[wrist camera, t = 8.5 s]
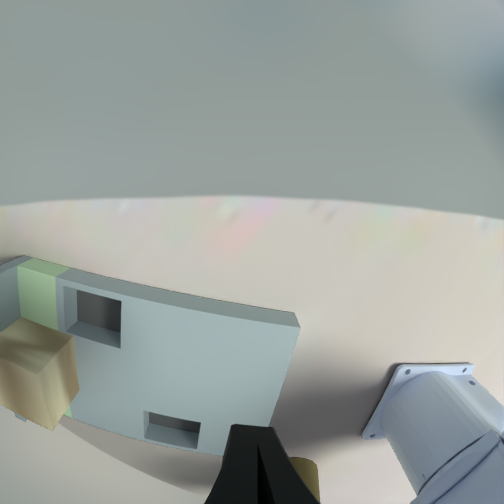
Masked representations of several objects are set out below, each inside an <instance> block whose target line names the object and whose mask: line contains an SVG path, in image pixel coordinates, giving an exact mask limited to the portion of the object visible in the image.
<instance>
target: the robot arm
mask: <svg viewBox="0 0 504 504" xmlns="http://www.w3.org/2000/svg"><path fill="white" fill-rule="evenodd" d="M474 368H475V366H474V364H472V363H465V364H402V365H400V366H398V367H397V368H396V370H395V372H394V374H393V377H392V379H391V381H390V383H389V385H388V387H387V389H386V391H385V393H384V395H383V397H382V399H381V401H380V402H379V404H378V406H377V408H376V410H375V412H374V414H373V415H372V417H371V419H370V421H369V423H368V424H367V426H366V428H365V429H364V431H363V433H362V435H361V436H362V438H363V439H364V440H368V439H380V438H387V439H388V441H389V443H390V445H391V447H392V449H393V450H394V452H395V454H396V456H397V458H398V460H399V462H400V464H401V466H402V468H403V470H404V471H405V473H406V475H407V477H408V479H409V481H410V483H411V485H412V487H413V489H414V491H415V493H416V495H417V497H416V498H415V499H414V500H413V501H411V502H410V504H504V407H503V406H502V405H501V404H500V403H499V402H498V401H497V400H496V399H495V398H494V397H493V396H492V395H491V394H490V393H489V392H488V391H487V390H486V389H485V388H484V387H483V386H482V385H481V384H480V383H479V382H478V381H477V380H476V379H475V378H474V377H473V376H472V375H471V374H472V372H473V370H474ZM406 370H407V371H406ZM405 371H406V372H405ZM204 504H320V503H319V501H318V500H317V499H316V498H315V496H314V495H313V494H312V492H311V491H310V490H309V488H308V487H307V486H306V484H305V483H304V481H303V480H302V478H301V477H300V475H299V474H298V472H297V470H296V469H295V467H294V466H293V464H292V462H291V461H290V459H289V457H288V455H287V453H286V452H285V450H284V448H283V446H282V444H281V442H280V440H279V438H278V436H277V434H276V431H275V430H274V428H273V427H263V426H253V425H243V424H233V425H231V427H230V431H229V435H228V439H227V443H226V447H225V451H224V455H223V462H222V468H221V470H220V473H219V475H218V477H217V480H216V482H215V484H214V486H213V488H212V490H211V492H210V494H209V496H208V498H207V500H206V501H205V503H204Z"/></svg>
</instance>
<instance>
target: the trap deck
mask: <svg viewBox="0 0 504 504" xmlns="http://www.w3.org/2000/svg"><path fill="white" fill-rule="evenodd" d="M20 317H23V318H25V319H28V320H30V321H33V322H36V323H38V324H41V325H43V326H46V327H49V328H52V329H55V330H57V331H60V332H63V333H66V334H69V335H72V336H73V337H74V349H75V359H76V367H77V375H78V382H79V389H80V390H79V392H78V393H77V394H76V396H75V397H74V399H73V400H72V402H71V403H70V405H69V407H68V408H67V410H66V411H65V413H64V414H63V415H65V416H68V417H70V418H73V419H75V420H78V421H81V422H83V423H86V424H89V425H92V426H95V427H98V428H101V429H104V430H107V431H110V432H113V433H116V434H119V435H123V436H126V437H130V438H133V439H137V440H141V441H145V442H149V443H153V444H157V445H162V446H166V447H171V448H176V449H181V450H186V451H192V452H197V453H204V454H210V455H218V456H223V455H224V451H225V447H226V443H227V439H228V435H229V431H230V427H231V425H233V424H243V425H253V426H263V427H268V426H269V423H270V421H271V418H272V415H273V412H274V409H275V406H276V403H277V400H278V398H279V395H280V392H281V389H282V386H283V383H284V380H285V376H286V373H287V370H288V367H289V364H290V361H291V358H292V354H293V351H294V348H295V345H296V341H297V338H298V335H299V331H300V328H301V327H300V325H299V323H298V320H297V318H296V315H295V313H292V312H285V311H279V310H272V309H266V308H260V307H254V306H248V305H242V304H236V303H231V302H225V301H220V300H214V299H209V298H204V297H198V296H193V295H188V294H183V293H178V292H173V291H168V290H163V289H159V288H154V287H149V286H145V285H140V284H136V283H131V282H127V281H122V280H118V279H114V278H110V277H105V276H101V275H97V274H93V273H89V272H85V271H81V270H77V269H73V268H69V267H65V266H61V265H58V264H54V263H50V262H46V261H43V260H39V259H36V258H32V257H29V256H25V255H23V256H21V257H19V258H16V259H14V260H11V261H9V262H7V263H5V264H2V265H0V332H1V331H3V330H4V329H5V328H7V327H8V326H9V325H11V324H12V323H14V322H15V321H16V320H18V319H19V318H20ZM15 415H16V417H17V418H19V419H21V420H23V421H26V420H27V419H26V418H24V417H23V416H21V415H19V414H17V413H15Z"/></svg>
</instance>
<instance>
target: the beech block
mask: <svg viewBox="0 0 504 504" xmlns="http://www.w3.org/2000/svg"><path fill="white" fill-rule="evenodd" d="M79 390H80V389H79V382H78V375H77V367H76V359H75V349H74V337H73V336H72V335H69V334H66V333H63V332H60V331H57V330H55V329H52V328H49V327H46V326H43V325H41V324H38V323H36V322H33V321H30V320H28V319H25V318H23V317H20V318H19V319H18V320H16V321H15V322H14V323H12V324H11V325H9V326H8V327H7V328H5V329H4V330H3V331H1V332H0V404H1V405H3V406H5V407H6V408H8V409H10V410H12V411H13V412H15V413H17V414H19V415H21V416H23V417H24V418H26V419H29V420H31V421H32V422H35V423H36V424H39V425H41V426H43V427H45V428H47V429H49V430H51V431H53V430H54V428H55V427H56V425H57V423H58V422H59V420H60V419H61V417H62V416H63V414H64V413H65V411H66V410H67V408H68V407H69V405H70V403H71V402H72V400H73V399H74V397H75V396H76V394H77V393H78V392H79Z"/></svg>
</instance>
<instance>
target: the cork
mask: <svg viewBox="0 0 504 504" xmlns="http://www.w3.org/2000/svg"><path fill="white" fill-rule="evenodd" d="M289 459H290V461H291V462H292V464H293V466H294V467H295V469H296V470H297V472H298V474H299V475H300V477H301V478H302V480H303V481H304V483H305V484H306V486H307V487H308V488H309V490H310V491H311V492H312V494H313V495H314V496H315V498H316V499H317V500H318V501H319V503H320V494H319V480H318V469H317V465H316V464H315V463H314V462H313V461H311V460H308V459H305V458H297V457H292V458H289Z"/></svg>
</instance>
